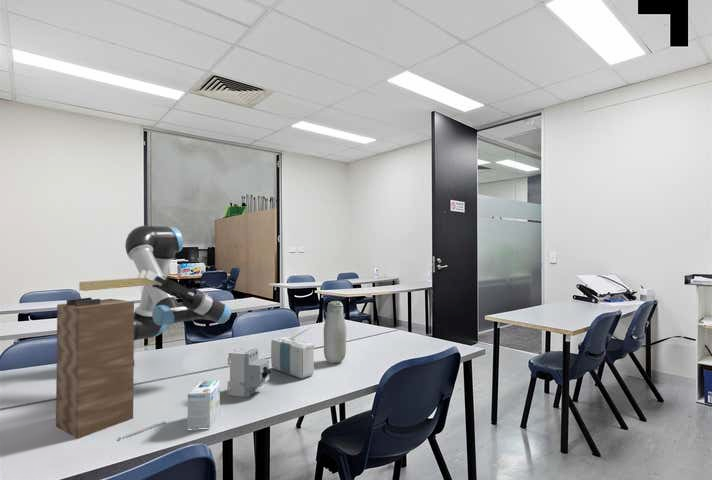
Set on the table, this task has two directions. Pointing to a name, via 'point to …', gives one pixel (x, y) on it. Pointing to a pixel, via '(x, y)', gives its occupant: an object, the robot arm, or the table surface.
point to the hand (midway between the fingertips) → (143, 273)
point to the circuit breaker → (246, 371)
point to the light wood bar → (115, 283)
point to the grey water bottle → (334, 333)
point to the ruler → (142, 430)
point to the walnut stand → (94, 364)
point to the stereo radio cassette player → (293, 356)
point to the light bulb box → (203, 404)
